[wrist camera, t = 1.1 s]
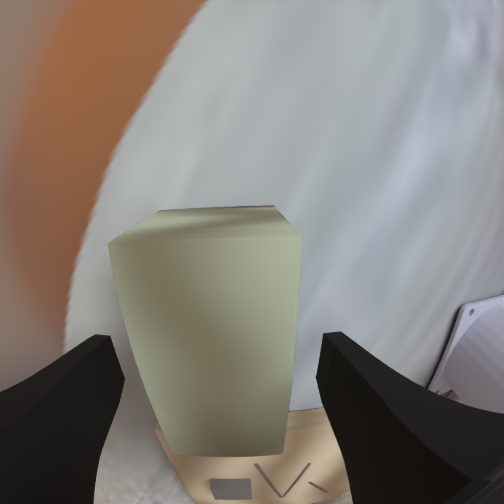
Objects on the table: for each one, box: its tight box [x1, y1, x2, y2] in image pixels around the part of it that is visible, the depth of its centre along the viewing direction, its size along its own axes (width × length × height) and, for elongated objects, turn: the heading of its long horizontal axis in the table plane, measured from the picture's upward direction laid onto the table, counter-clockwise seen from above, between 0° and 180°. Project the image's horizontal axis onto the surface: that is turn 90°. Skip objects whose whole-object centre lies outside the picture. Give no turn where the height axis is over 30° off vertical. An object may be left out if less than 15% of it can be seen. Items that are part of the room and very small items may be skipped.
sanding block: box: [108, 206, 301, 457], centre depth 10 cm, size 4×9×5 cm, turn 1°
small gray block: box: [210, 478, 252, 500], centre depth 15 cm, size 3×3×1 cm
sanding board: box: [154, 407, 350, 504], centre depth 16 cm, size 15×17×2 cm
